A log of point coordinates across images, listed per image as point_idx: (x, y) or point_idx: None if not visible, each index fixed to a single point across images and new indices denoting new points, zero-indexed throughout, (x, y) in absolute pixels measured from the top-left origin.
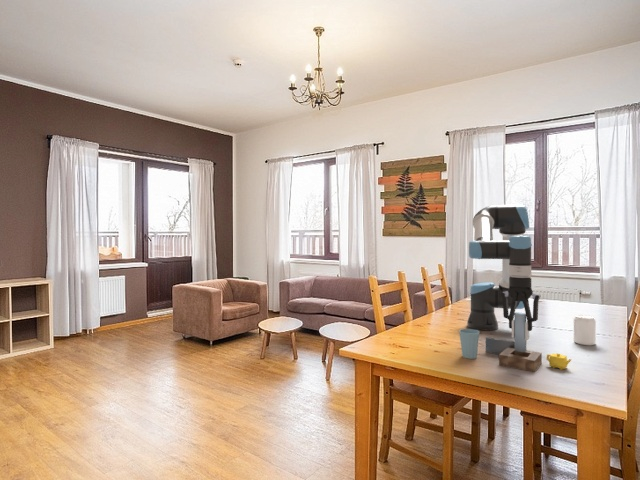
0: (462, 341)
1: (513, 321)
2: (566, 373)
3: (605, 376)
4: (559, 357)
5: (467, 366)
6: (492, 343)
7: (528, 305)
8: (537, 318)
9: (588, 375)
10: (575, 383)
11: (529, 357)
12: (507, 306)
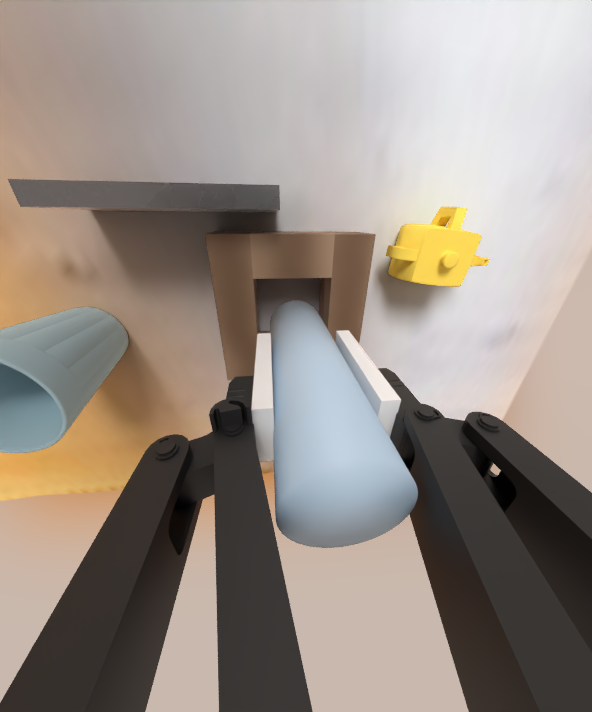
0: (37, 406)
1: (272, 456)
2: (432, 305)
3: (549, 255)
4: (445, 283)
5: (166, 424)
6: (96, 208)
7: (570, 689)
8: (504, 437)
9: (496, 280)
10: (441, 373)
11: None
12: (133, 653)
